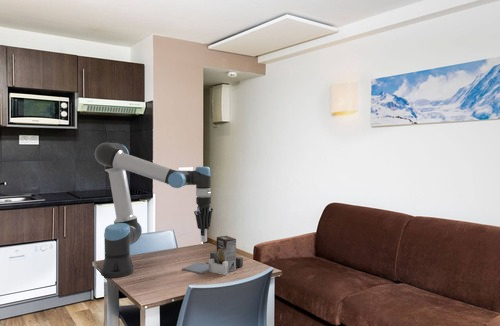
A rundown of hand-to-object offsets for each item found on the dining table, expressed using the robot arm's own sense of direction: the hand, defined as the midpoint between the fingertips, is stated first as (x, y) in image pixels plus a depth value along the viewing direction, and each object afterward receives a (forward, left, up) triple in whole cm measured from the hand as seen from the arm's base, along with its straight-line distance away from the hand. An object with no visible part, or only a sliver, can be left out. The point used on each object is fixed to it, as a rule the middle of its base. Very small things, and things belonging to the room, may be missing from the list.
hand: (204, 241), depth 195 cm
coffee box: (+13, +2, -13) cm, 18 cm away
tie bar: (+8, +9, -13) cm, 17 cm away
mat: (+1, -4, -13) cm, 14 cm away
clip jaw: (+13, -5, -13) cm, 19 cm away
